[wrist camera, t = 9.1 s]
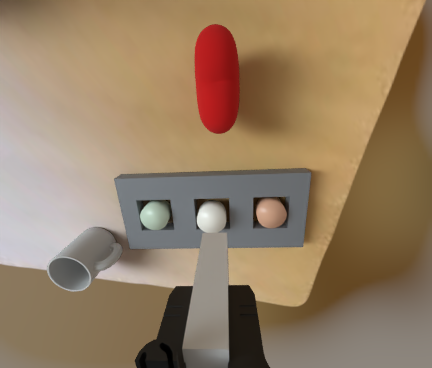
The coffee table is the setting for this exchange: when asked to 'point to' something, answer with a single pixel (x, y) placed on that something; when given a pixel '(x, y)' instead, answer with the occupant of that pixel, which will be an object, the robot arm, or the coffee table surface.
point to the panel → (207, 189)
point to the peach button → (270, 212)
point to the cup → (84, 259)
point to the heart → (217, 78)
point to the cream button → (211, 216)
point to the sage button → (156, 214)
